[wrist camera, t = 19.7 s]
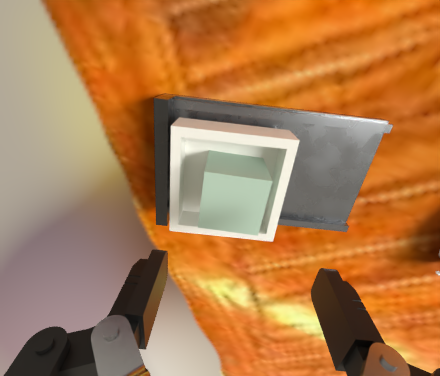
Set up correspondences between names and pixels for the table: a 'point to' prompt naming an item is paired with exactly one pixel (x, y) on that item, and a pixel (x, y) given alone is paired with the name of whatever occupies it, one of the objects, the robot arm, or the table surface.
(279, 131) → the white square tray
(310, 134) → the track
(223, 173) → the block
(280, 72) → the table surface
